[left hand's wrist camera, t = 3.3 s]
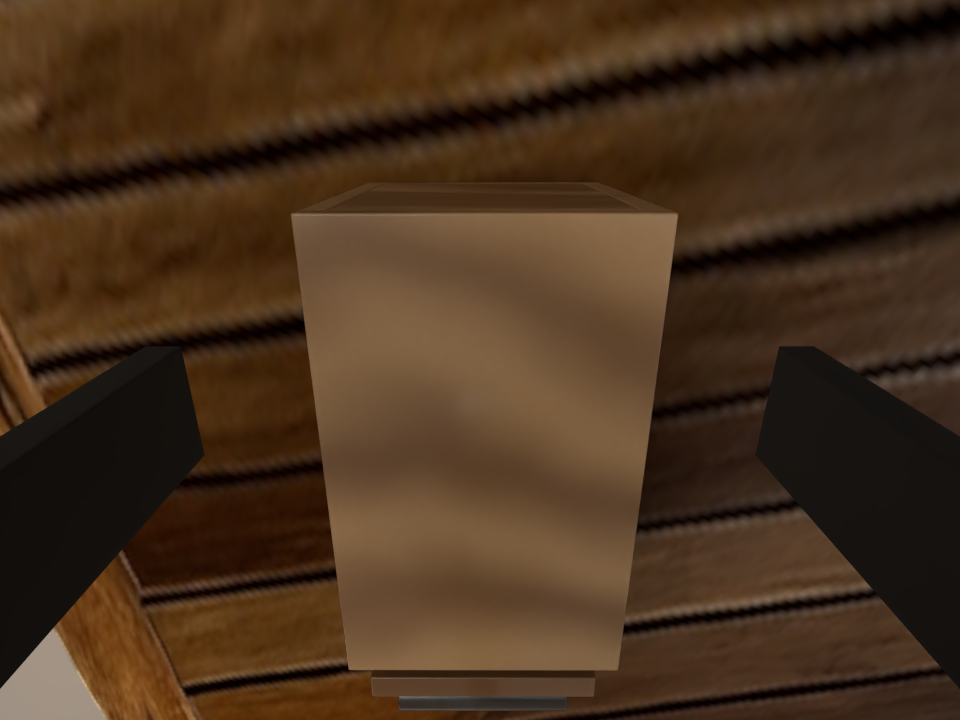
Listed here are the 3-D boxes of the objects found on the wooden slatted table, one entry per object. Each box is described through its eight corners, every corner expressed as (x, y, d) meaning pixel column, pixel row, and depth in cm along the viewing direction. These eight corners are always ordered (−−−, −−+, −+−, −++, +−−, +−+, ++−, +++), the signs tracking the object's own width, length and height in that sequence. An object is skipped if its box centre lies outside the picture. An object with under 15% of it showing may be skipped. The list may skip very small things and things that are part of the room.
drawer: (558, 619, 35) (584, 782, 26) (406, 618, 36) (381, 782, 27) (583, 267, 27) (635, 333, 18) (382, 267, 27) (333, 333, 18)
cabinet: (574, 498, 33) (618, 671, 22) (391, 498, 33) (348, 670, 22) (598, 182, 26) (679, 212, 15) (368, 182, 26) (289, 212, 15)
